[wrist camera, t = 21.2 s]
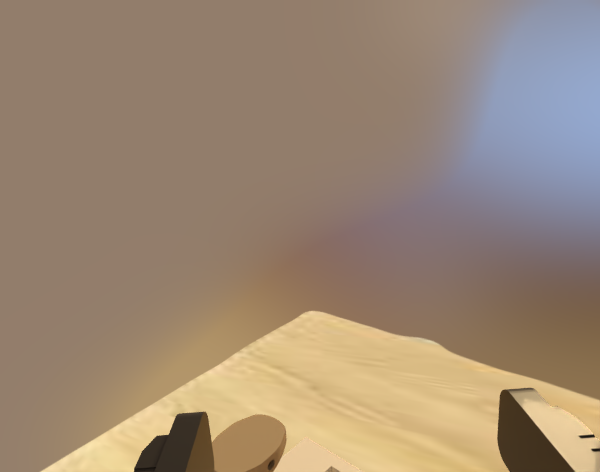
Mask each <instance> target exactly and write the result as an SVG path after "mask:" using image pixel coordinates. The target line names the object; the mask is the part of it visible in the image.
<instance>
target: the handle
mask: <svg viewBox="0 0 600 472" xmlns="http://www.w3.org/2000/svg"><path fill="white" fill-rule="evenodd" d="M285 445H286V429H285V427H284V425H283V424H282V423H281V422H280V421H278V420H277V419H275V418H273V417H270V416H267V415H253V416H250V417H248V418H245V419H242V420H240V421H238V422H236V423H234V424H232V425H231V426H229V427H228V428H227V429H226V430H224V431H223V432H222V433H221V434H219V435H218V436H217V437H216V438H215V440H214V441H213V442H212V448H213V455H214V472H273V471H274V470H275V468H276V467H277V465H278V463H279V461H280V459H281V457H282V454H283V452H284V448H285Z"/></svg>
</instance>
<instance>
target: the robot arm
mask: <svg viewBox="0 0 600 472" xmlns="http://www.w3.org/2000/svg"><path fill="white" fill-rule="evenodd" d="M498 446H499V450H500V454H501V457H502V459H503V461H504V463H505V465H506V466H507V468H508V469H509V471H510V472H600V440H599V439H598V438H595V436H594V434H593V433H592V432H591V431H590V430H589V429H588V428H587V427H586V426H585V425H584V424H583V423H582V422H581V421H580V420H579V419H578V418H577V417H575V416H573V415H572V414H570V413H568V412H567V411H565V410H563V409H562V408H560V407H558V406H552V407H551V406H550V405H549V404H548V403H547V402H546V401H545V399H544V398H543V397H542V396H541V395H540V394H539V393H538V392H537V391H536V390H535V389H533V388H521V389H508V390H503V391H502V392H501V394H500V404H499V420H498ZM134 472H214V455H213V448H212V442H211V435H210V428H209V421H208V416H207V413H206V412H195V413H182V414H177V416H176V418H175V420H174V423H173V425H172V428H171V430H170V433H169V435H161V436H156V437H155V438H154V439H153V440H152V441H151V443H150V444H149V445H148V446H147V447H146V448H145V449H144V450H143V451H142V453H141V455H140V457H139V460H138V462H137V464H136V466H135V468H134Z"/></svg>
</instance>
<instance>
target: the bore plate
mask: <svg viewBox="0 0 600 472" xmlns="http://www.w3.org/2000/svg"><path fill="white" fill-rule="evenodd" d="M273 472H363V471H361V470H360V469H358V468H356V467H355V466H353V465H352V464H350V463H348V462H347V461H345V460H343V459H342V458H340V457H339V456H337V455H335V454H334V453H332V452H330V451H329V450H327V449H326V448H324V447H322V446H321V445H319V444H317V443H316V442H314V441H312V440H311V439H309V438H308V437H305V438H304V439H303V440H301V441H300V442H299V443H298V444H297V445H295V446H294V447H293V448H292V449H291V450H289V451H288V452H287V453H286V454H285V455H283V456H282V457H281V459H280V461H279V463H278V465H277V467H276V468H275V470H274V471H273Z"/></svg>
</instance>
